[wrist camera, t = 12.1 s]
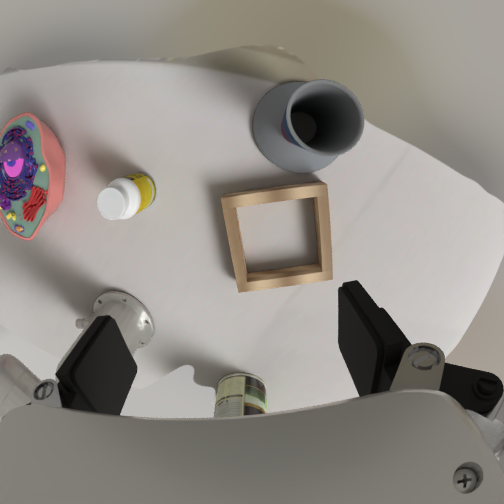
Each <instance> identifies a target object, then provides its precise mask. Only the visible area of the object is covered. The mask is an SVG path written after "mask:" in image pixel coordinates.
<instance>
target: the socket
mask: <svg viewBox="0 0 504 504" xmlns="http://www.w3.org/2000/svg"><path fill="white" fill-rule="evenodd" d="M310 197H313V201H314V212H315V224H316V236H317V250H318V264H311V265H304V266H297V267H290V268H282V269H275V270H268V271H260V272H253V273H247V267H246V261H245V256H244V250H243V244H242V238H241V233H240V227H239V221H238V215H237V210H236V207H243V206H249V205H256V204H263V203H271V202H278V201H286V200H293V199H301V198H310ZM221 204H222V209H223V214H224V220H225V225H226V230H227V236H228V241H229V246H230V251H231V257H232V262H233V267H234V272H235V277H236V282H237V287H238V292H247V291H255V290H263V289H270V288H278V287H285V286H292V285H299V284H306V283H313V282H319V281H326V280H332V279H333V273H332V247H331V228H330V213H329V201H328V189H327V184H326V183H324V182H322V181H320V182H310V183H302V184H293V185H285V186H278V187H270V188H263V189H256V190H249V191H242V192H236V193H229V194H223V196H222V197H221Z"/></svg>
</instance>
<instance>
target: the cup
mask: <svg viewBox="0 0 504 504" xmlns="http://www.w3.org/2000/svg"><path fill="white" fill-rule="evenodd" d="M363 128H364V114H363V110H362V107H361V104H360V103H359V101H358V99H357V98H356V97H355V95H354V94H353V93H352V92H351V91H350V90H349V89H348V88H346V87H345V86H343V85H341V84H339V83H337V82H334V81H331V80H325V79H319V80H312V81H309V82H306V83H304V84H303V85H301V86H300V87H298V88H297V89H296V90H295V91H294V92H293V94H292V95H291V97H290V99H289V101H288V103H287V106H286V110H285V113H284V116H283V120H282V123H281V131H282V134H283V136H284V137H285V139H286V140H287V141H288V142H290V143H292V144H294V145H296V146H298V147H300V148H303V149H305V150H307V151H309V152H311V153H313V154H316V155H320V156H329V157H330V156H337V155H340V154H343V153H345V152H347V151H349V150H350V149H352V148H353V147H354V146H355V145H356V144H357V142H358V141H359V139H360V137H361V135H362V133H363Z"/></svg>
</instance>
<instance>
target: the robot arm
mask: <svg viewBox="0 0 504 504" xmlns="http://www.w3.org/2000/svg"><path fill="white" fill-rule="evenodd" d="M76 327H77V328H79V329H84V330H83V331H82V332H81V334H80V335H79V336H78V338H77V339H76V340H75V342H74V343H73V344H72V346H71V347H70V348H69V350H68V351H67V352H66V354H65V355H64V357H63V358H62V359H61V361H60V363H59V364H58V367H57V370H56V381H55V380H53V379H46V380H43V381H41V380H40V379H39V378H38V377H37V376H36V375H34V374H33V373H32V372H31V371H30V370H29V369H28V368H27V367H26V366H25V365H24V364H23V363H22V362H21V361H20V360H18V359H17V358H16V357H14V356H12V355H10V354H3V355H0V504H504V389H503V384H502V381H501V380H500V379H499V378H498V377H497V376H496V375H494V374H492V373H489V372H485V371H480V370H476V369H471V368H466V367H462V366H457V365H453V364H449V363H445V355H444V353H443V351H442V350H441V349H440V348H439V347H437V346H435V345H433V344H430V343H416V344H413V345H412V344H411V343H410V342H409V340H408V339H407V338H406V336H405V335H404V334H403V332H402V331H401V330H400V328H399V327H398V326H397V325H396V323H395V322H394V321H393V319H392V318H391V317H390V315H389V314H388V313H387V312H386V310H385V309H384V308H379V307H378V306H377V304H376V303H375V302H374V301H373V299H372V298H371V297H370V295H369V294H368V293H367V292H366V290H365V289H364V288H363V287H362V285H361V284H360V283H359V282H358V281H357V280H355V281H350V282H345V283H343V285H342V287H339V289H338V344H339V348H340V351H341V353H342V356H343V358H344V360H345V363H346V365H347V367H348V370H349V372H350V374H351V377H352V379H353V382H354V384H355V386H356V389H357V391H358V394H359V396H360V397H356V398H351V399H346V400H342V401H337V402H332V403H327V404H322V405H317V406H311V407H306V408H299V409H293V410H287V411H280V412H273V413H265V414H256V415H245V416H233V417H216V418H148V417H132V416H121V415H120V413H121V410H122V408H123V405H124V403H125V400H126V398H127V395H128V393H129V390H130V388H131V385H132V383H133V380H134V378H135V376H136V373H137V365H136V363H135V361H134V359H133V355H134V353H135V351H136V349H137V348H141V347H143V346H145V345H147V344H148V343H149V342H150V340H151V338H152V336H153V333H154V324H153V320H152V317H151V316H150V314H149V312H148V311H147V309H146V308H145V307H144V306H143V305H142V304H141V303H140V302H139V301H138V300H137V299H135V298H134V297H132V296H130V295H128V294H126V293H123V292H119V291H109V292H105V293H103V294H101V295H100V296H99V297H98V298H97V300H96V301H95V303H94V306H93V315H92V317H88V318H87V319H77V320H76Z"/></svg>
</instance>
